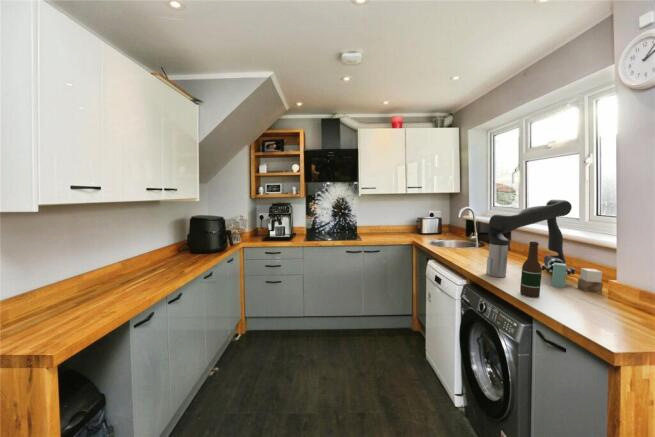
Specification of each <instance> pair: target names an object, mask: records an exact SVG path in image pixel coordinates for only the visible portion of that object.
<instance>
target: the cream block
mask: <svg viewBox="0 0 655 437" xmlns="http://www.w3.org/2000/svg"><path fill="white" fill-rule="evenodd" d="M579 278H581V279H583V280H585V281H589V282H602V279H603V271H601V270H599V269H596V268H584V267H581V269H580V277H579Z"/></svg>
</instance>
